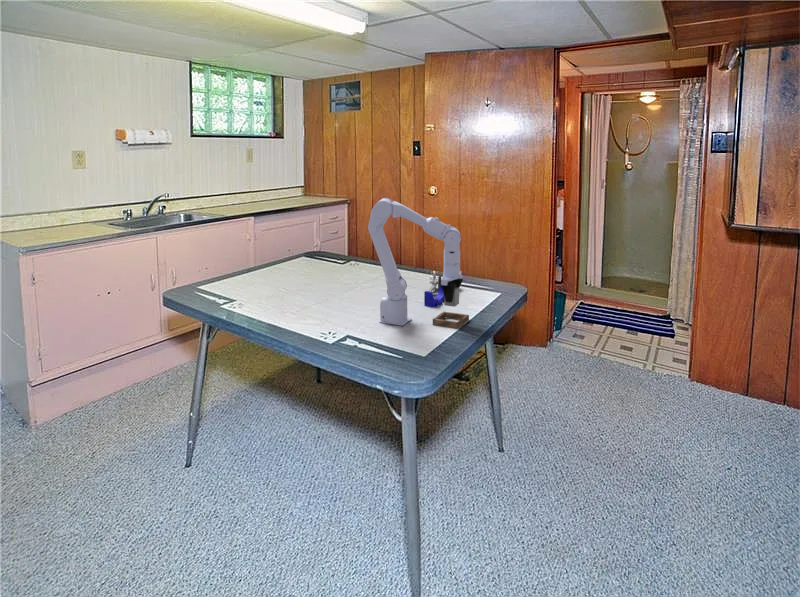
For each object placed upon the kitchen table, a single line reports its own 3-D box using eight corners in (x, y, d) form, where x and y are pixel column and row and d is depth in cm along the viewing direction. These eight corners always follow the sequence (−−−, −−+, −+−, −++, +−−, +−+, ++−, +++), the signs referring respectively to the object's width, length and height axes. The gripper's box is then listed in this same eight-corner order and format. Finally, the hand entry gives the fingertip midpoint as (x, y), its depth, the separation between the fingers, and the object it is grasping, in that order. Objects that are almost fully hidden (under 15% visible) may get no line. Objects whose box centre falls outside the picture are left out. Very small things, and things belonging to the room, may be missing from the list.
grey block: (444, 305, 189) (444, 289, 188) (448, 302, 193) (448, 286, 191) (454, 306, 188) (455, 290, 186) (458, 303, 191) (459, 287, 189)
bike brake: (429, 285, 238) (424, 305, 221) (429, 271, 235) (424, 290, 218) (460, 286, 236) (457, 307, 218) (460, 272, 233) (457, 291, 216)
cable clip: (433, 308, 209) (433, 293, 208) (424, 306, 212) (424, 291, 210) (450, 300, 218) (450, 286, 217) (441, 299, 221) (441, 285, 219)
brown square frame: (432, 324, 190) (432, 319, 189) (443, 316, 199) (443, 311, 198) (459, 328, 186) (459, 323, 185) (468, 320, 194) (469, 314, 194)
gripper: (455, 268, 178) (454, 307, 182) (469, 259, 190) (468, 296, 194) (435, 266, 181) (435, 304, 185) (451, 258, 193) (450, 294, 197)
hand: (451, 300), depth 190 cm, fingers closed on grey block, 4 cm apart
